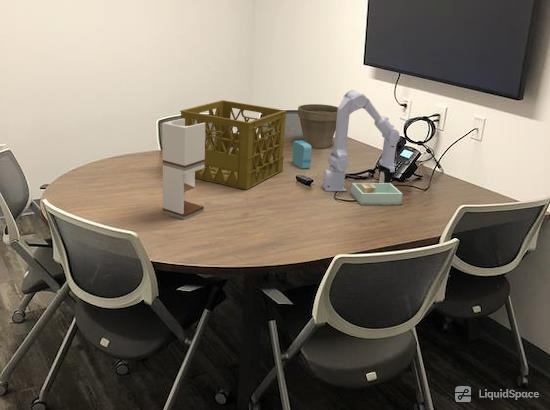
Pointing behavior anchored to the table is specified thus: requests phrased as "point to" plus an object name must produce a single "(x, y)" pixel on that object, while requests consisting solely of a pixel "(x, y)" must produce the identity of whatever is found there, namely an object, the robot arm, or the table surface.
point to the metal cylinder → (381, 177)
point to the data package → (301, 154)
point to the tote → (377, 194)
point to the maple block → (368, 188)
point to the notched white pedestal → (181, 166)
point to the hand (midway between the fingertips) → (384, 182)
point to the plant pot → (318, 124)
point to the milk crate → (239, 143)
